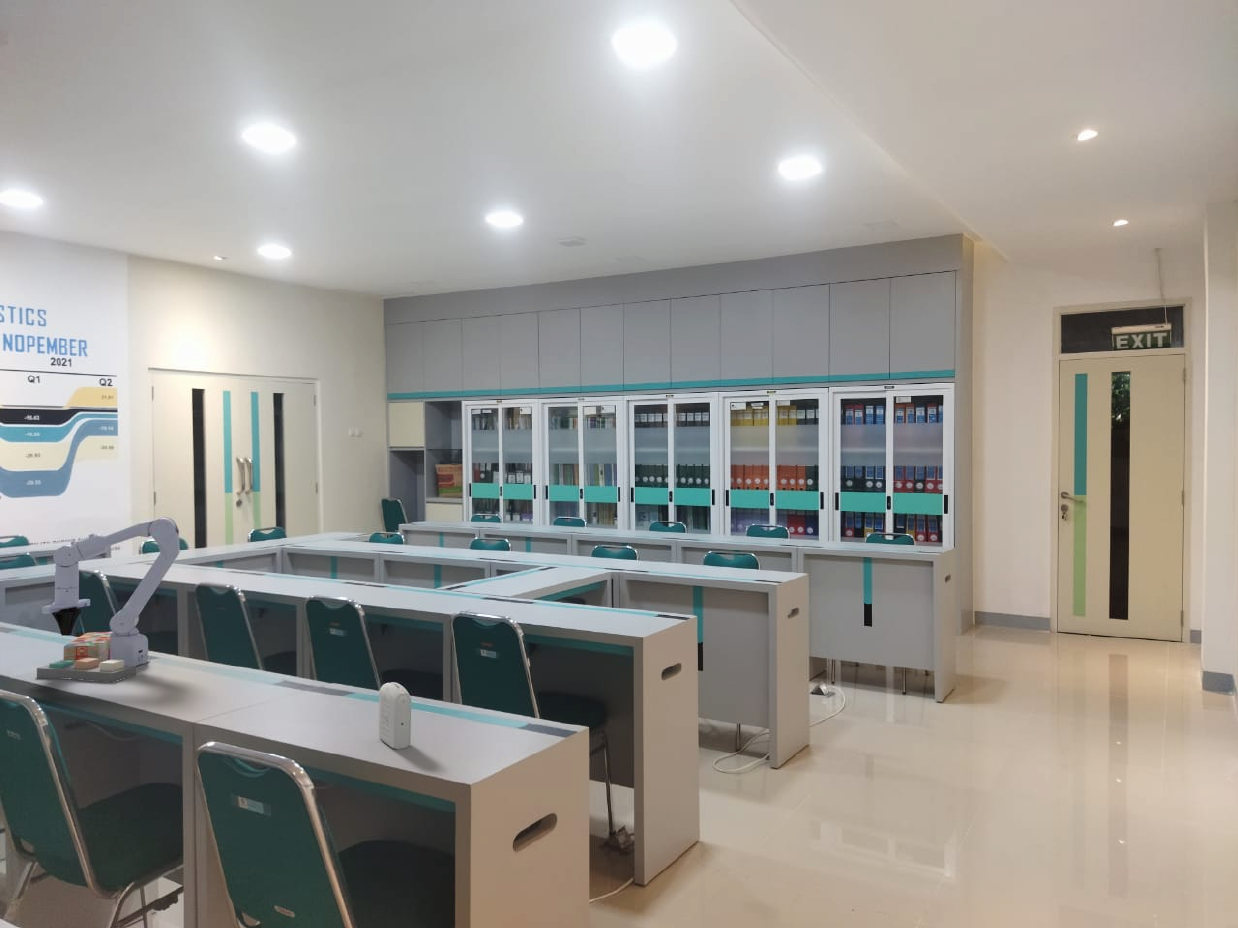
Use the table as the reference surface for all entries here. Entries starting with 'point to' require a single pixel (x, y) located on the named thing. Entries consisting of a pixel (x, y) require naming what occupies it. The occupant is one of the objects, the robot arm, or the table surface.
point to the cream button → (111, 665)
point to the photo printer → (395, 715)
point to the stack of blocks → (89, 647)
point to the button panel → (86, 673)
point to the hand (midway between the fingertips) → (66, 635)
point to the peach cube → (86, 663)
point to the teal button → (61, 664)
